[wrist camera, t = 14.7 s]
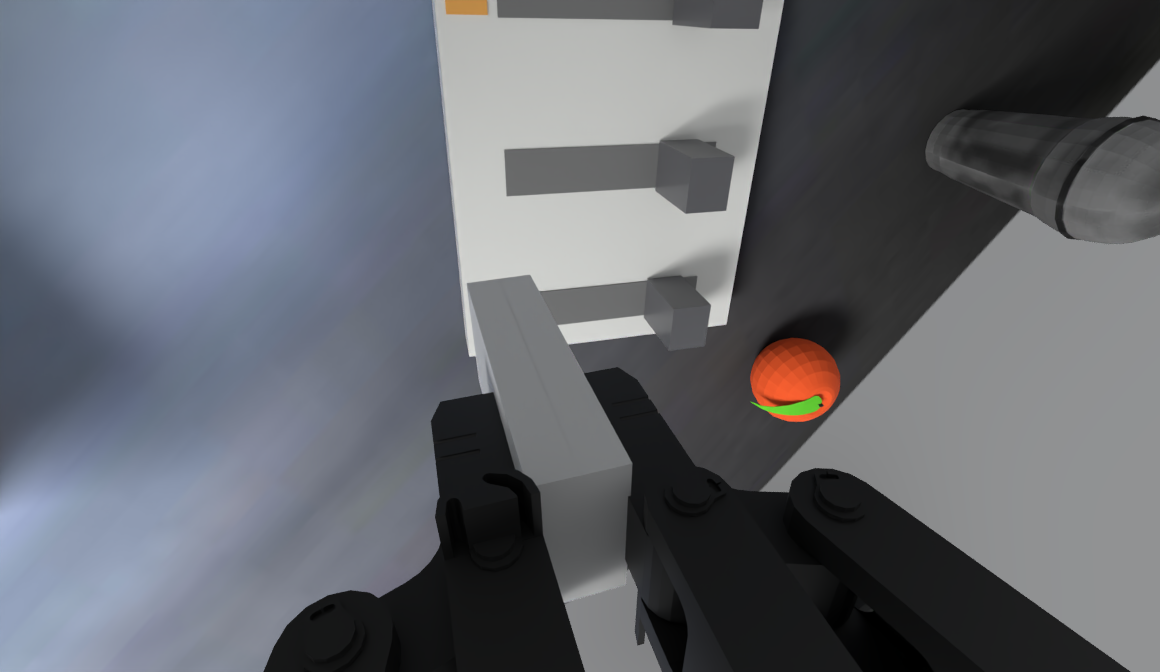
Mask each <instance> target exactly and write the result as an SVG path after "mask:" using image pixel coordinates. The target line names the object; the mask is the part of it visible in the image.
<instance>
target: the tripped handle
mask: <svg viewBox="0 0 1160 672" xmlns="http://www.w3.org/2000/svg"><path fill="white" fill-rule="evenodd" d="M762 5H763V0H674V10H673V21H672V25H678V26H689V27H700V28H716V29H759V24H760V18H761V12H762Z"/></svg>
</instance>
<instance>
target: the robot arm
mask: <svg viewBox="0 0 1160 672" xmlns="http://www.w3.org/2000/svg"><path fill="white" fill-rule="evenodd" d="M466 284H467V292H468V299H469V307H470V315H471V322H472V330H473V338H474V346H475V353H476V361H477V369H478V377H479V382H480V386H481V390H482V394H480V395H474V396H469V397H464V398H458V399H453V400H447V401H442V402H440V404H439V406H438V408H437V410H436V412H435V414H434V416H433V418H432V420H431V425H432V434H433V442H434V451H435V459H436V469H437V477H438V486H439V495H440V498H439V499H438V501H437V508H436V514H435V519H436V523H437V528H438V533H439V537H440V542H441V543H440V546H439V549H438V551H437V552H436V554H435V556H434V557H433V559H432V560H431V562H430V563H429V564H428V565H427V566H426V567H425V568H424V569H423V570H422V571H421V572H420V573H419V574H417V575H416V576H415V577H413V578H412V579H410V580H409V581H407V582H406V583H404V584H403V585H401V586H399V587H397V588H395V589H394V590H392V591H390V592H388V593H387V594H385V595H383V596H381V597H380V598H377V597H376V596H374V595H373V594H371V593H368V592H360V591H352V590H350V591H345V592H341V593H336V594H332V595H328V596H326V597H324V598H322V599H321V600H319V601H317V602H315V603H313V604H311V605H309V606H308V607H306V608H305V609H304V610H303V611H302V612H301V613H300V614H299V615H297V616H296V617H295V618H294V619H293V620H292V621H291V622H290V623H289V624H288V625H287V626H286V628H285V629H284V631H283V633H282V634H281V636H280V638H279V639H278V641H277V643H276V644H275V646H274V648H273V650H272V653H271V655H270V657H269V660H268V662H267V665H266V667H265V669H264V672H585V670H584V667H583V664H582V661H581V658H580V654H579V651H578V648H577V644H576V641H575V638H574V634H573V631H572V628H571V625H570V621H569V618H568V615H567V611H566V608H565V605H564V603H565V602H569V601H572V600H576V599H579V598H582V597H586V596H590V595H593V594H597V593H600V592H603V591H607V590H611V589H614V588H618V587H621V586H624V585H626V578H627V565H628V567H629V570H630V572H631V574H632V577H633V579H634V581H635V583H636V586H637V588H638V596H637V610H636V625H635V634H636V640H637V645H640V644H644V638H645V631H646V633H647V636H648V639H649V641H650V644H651V646H652V648H653V651H654V653H655V655H656V658H657V660H658V663H659V665H660V668H661V670H662V672H1130V671H1129V670H1127V669H1126V668H1124V667H1123V666H1122V665H1120V664H1119V663H1118V662H1116V661H1115V660H1113V659H1112V658H1111V657H1109V656H1108V655H1106V654H1105V653H1104V652H1102V651H1101V650H1099V649H1098V648H1096V647H1095V646H1094V645H1092V644H1091V643H1090V642H1088V641H1086V640H1085V639H1084V638H1083V637H1081V636H1080V635H1078V634H1077V633H1076V632H1074V631H1073V630H1071V629H1070V628H1069V627H1067V626H1066V625H1064V624H1063V623H1062V622H1060V621H1059V620H1057V619H1056V618H1055V617H1053V616H1052V615H1050V614H1049V613H1047V612H1046V611H1045V610H1043V609H1042V608H1041V607H1039V606H1038V605H1036V604H1035V603H1034V602H1032V601H1031V600H1029V599H1028V598H1027V597H1025V596H1024V595H1022V594H1021V593H1020V592H1018V591H1017V590H1016V589H1014V588H1013V587H1011V586H1010V585H1009V584H1007V583H1006V582H1004V581H1003V580H1002V579H1000V578H999V577H997V576H996V575H994V574H993V573H992V572H990V571H989V570H987V569H986V568H985V567H983V566H982V565H981V564H979V563H978V562H976V561H975V560H974V559H972V558H971V557H969V556H968V555H966V554H965V553H964V552H962V551H961V550H960V549H958V548H957V547H955V546H954V545H953V544H951V543H950V542H948V541H947V540H946V539H944V538H943V537H941V536H940V535H939V534H937V533H936V532H934V531H933V530H932V529H930V528H929V527H927V526H926V525H925V524H923V523H922V522H921V521H919V520H918V519H916V518H915V517H913V516H912V515H911V514H909V513H908V512H907V511H905V510H904V509H902V508H901V507H900V506H898V505H897V504H895V503H894V502H893V501H891V500H890V499H888V498H887V497H886V496H884V495H883V494H881V493H880V492H878V491H877V490H876V489H874V488H873V487H872V486H870V485H869V484H867V483H866V482H864V481H862V480H860V479H858V478H857V477H855V476H853V475H851V474H848V473H844V472H841V471H838V470H834V469H820V468H815V469H811V470H808V471H805V472H801V473H800V474H799V475H798V476H797V477H796V478H795V479H794V480H792V483H791V487H790V491H789V493H787V492H757V491H744V490H736V489H733V488H731V487H730V486H729V485H728V484H727V483H726V482H725V481H724V480H723V479H722V478H721V477H720V476H719V475H717V474H715V473H713V472H711V471H709V470H707V469H705V468H701V467H696V466H695V465H694V463H693V462H692V460H691V459H690V457H689V456H688V455H687V453H686V452H685V450H684V449H683V447H682V446H681V444H680V443H679V441H678V440H677V438H676V437H675V435H674V434H673V432H672V431H671V429H670V428H669V426H668V425H667V423H666V422H665V420H664V419H663V417H662V416H661V415H660V413H658V412H657V409H656V407H655V406H654V404H653V403H652V401H651V400H649V399H648V395H647V394H646V392H645V391H644V389H643V388H642V386H641V385H640V383H639V382H638V380H637V379H635V378H634V377H632V376H631V375H629V374H627V373H626V372H624V371H623V370H621V369H620V368H618V367H616V368H611V369H605V370H600V371H595V372H589V373H583V371H582V369H581V368H580V366H579V364H578V362H577V360H576V358H575V357H574V355H573V353H572V351H571V349H570V347H569V345H568V344H567V342H566V340H565V338H564V336H563V334H562V333H561V331H560V329H559V327H558V325H557V323H556V321H555V320H554V318H553V316H552V314H551V312H550V310H549V309H548V307H547V305H546V303H545V301H544V299H543V297H542V296H541V294H540V292H539V290H538V288H537V286H536V285H535V283H534V281H533V279H532V277H531V275H523V276H516V277H508V278H501V279H493V280H486V281H479V282H471V283H466Z"/></svg>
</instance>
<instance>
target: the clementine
mask: <svg viewBox="0 0 1160 672" xmlns="http://www.w3.org/2000/svg"><path fill="white" fill-rule="evenodd" d="M750 379H751V386H752V391H753V394H754V396H755V397H756V399H757V401H758V402H759V404H760V405H759V404H756V403H753V402H751V403H753V404H755V405H756V406H758V407H759V408H761V409H763V410H766V411H768V412H769V413H770V414H771V415H773V416H775V417H777V418H780V419H783V420H786V421H796V422H804V421H808V420H811V419H814V418H816V417H818V416H820V415H822V414H823V413H825V412H826V411H827V410H828V409H829V408H830V407H831V405H832V404H833V403H834V401H835V400H836V398H837V396H838V393H839V389H840V373H839V370H838V368H837V365H836V362H835V360H834V359H833V357H832V356H831V355H830V354H829V353H828V352H827V351H826V350H825V349H824V348H823V347H822V346H820V345H818V344H816V343H814V342H812V341H810V340H806V339H801V338H788V339H783V340H778V341H776V342H774V343H772V344H770V345H768V346H767V347H765V348H764V349H763V350H762V351H761V352H760V353H759V355H758V356H757V358H756V359H755V361H754V364H753V367H752V371H751V377H750Z"/></svg>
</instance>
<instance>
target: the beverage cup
mask: <svg viewBox="0 0 1160 672" xmlns="http://www.w3.org/2000/svg"><path fill="white" fill-rule="evenodd" d="M925 154H926V161H927V163H928V165H929V166H930V167H931V168H933V169H934V170H937V171H940V172H941V173H943V174H945V175H946V176H948V177H949V178H951V179H953V180H956V181H958V182H960V183H962V184H964V185H967V186H969V187H971V188H973V189H976V190H978V191H980V192H982V193H984V194H987V195H989V196H991V197H993V198H995V199H998V200H1000V201H1002V202H1004V203H1007V204H1009V205H1011V206H1013V207H1015V208H1018V209H1020V210H1022V211H1025V212H1027V213H1029V214H1031V215H1033V216H1035V217H1037V218H1038V219H1039V220H1041V221H1042V222H1043V223H1045V224H1047V225H1048V226H1050V227H1051V228H1053V229H1055V230H1056V231H1059V232H1060V233H1061V234H1062V235H1064V236H1065V237H1066V238H1068V239H1077V240H1084V241H1089V242H1097V243H1105V244H1124V243H1132V242H1136V241H1140V240H1144V239H1147V238H1151V237H1155V236H1157V235H1160V120H1158V119H1155V118H1150V117H1146V116H1140V117H1136V118H1130V117H1103V118H1099V119H1090V118H1078V117H1066V116H1054V115H1042V114H1029V113H1017V112H1005V111H993V110H965V109H961V110H956V111H953V112H952V113H950V114H948V115H946V116H945V117H944V118H943V119H942V120H941V121H940V122H939V123H938V124H937V125H936V127H935V128H934V129H933V131H932V132H931V135H930V137H929V139H928V141H927V146H926V150H925Z"/></svg>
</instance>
